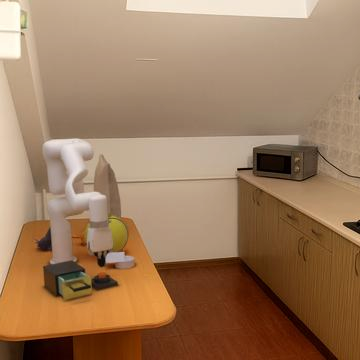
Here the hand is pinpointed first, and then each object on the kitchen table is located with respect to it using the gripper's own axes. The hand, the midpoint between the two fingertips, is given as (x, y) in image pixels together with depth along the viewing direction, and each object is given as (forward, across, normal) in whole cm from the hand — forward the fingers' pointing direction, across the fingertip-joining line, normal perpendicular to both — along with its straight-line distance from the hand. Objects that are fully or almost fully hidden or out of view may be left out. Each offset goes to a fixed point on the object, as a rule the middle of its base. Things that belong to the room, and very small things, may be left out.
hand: (101, 266), depth 234 cm
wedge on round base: (+8, -17, -18) cm, 26 cm away
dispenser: (+8, +14, -6) cm, 17 cm away
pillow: (+7, -38, -79) cm, 88 cm away
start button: (+5, 0, 0) cm, 5 cm away
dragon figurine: (+8, -6, -66) cm, 67 cm away
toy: (+8, -19, -38) cm, 44 cm away
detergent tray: (+7, +14, +4) cm, 16 cm away
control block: (+8, 0, 0) cm, 8 cm away
